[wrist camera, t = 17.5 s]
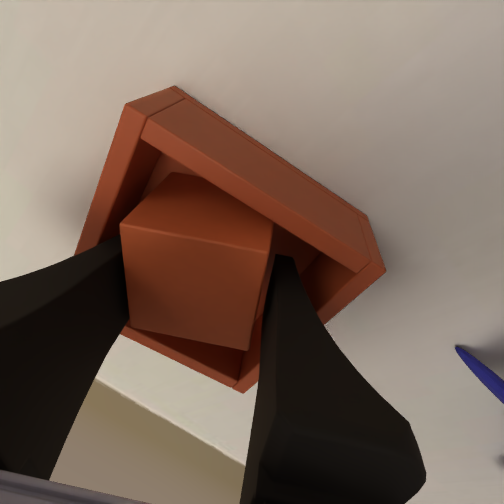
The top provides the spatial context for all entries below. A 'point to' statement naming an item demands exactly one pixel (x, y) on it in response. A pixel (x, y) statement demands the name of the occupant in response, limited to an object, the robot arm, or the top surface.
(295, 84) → the top surface
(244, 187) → the terracotta bin
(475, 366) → the fish toy
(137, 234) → the terracotta block
